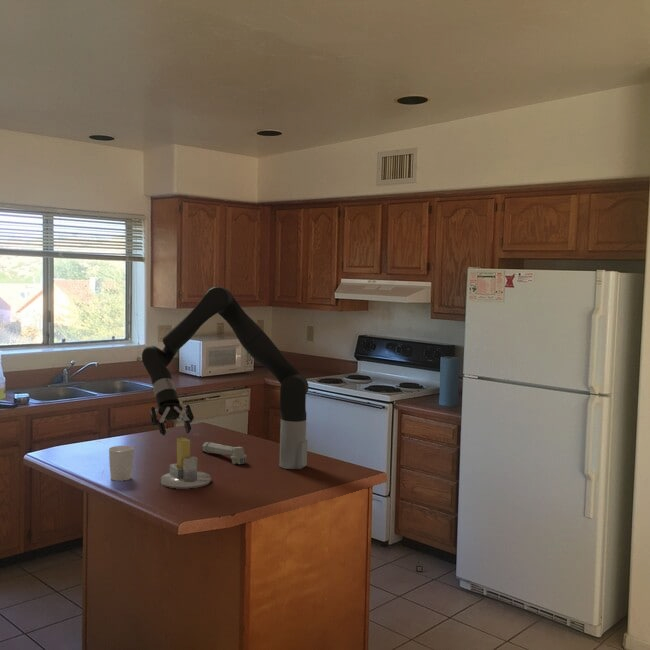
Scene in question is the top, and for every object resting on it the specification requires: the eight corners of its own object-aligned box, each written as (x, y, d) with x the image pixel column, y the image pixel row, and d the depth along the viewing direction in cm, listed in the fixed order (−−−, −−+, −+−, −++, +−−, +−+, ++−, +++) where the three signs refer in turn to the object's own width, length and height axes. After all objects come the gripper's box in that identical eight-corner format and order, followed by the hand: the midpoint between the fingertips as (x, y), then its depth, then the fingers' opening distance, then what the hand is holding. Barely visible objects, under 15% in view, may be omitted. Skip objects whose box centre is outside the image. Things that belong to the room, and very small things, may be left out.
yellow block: (176, 473, 232) (176, 438, 231) (184, 472, 233) (184, 437, 233) (181, 477, 228) (182, 441, 227) (189, 476, 229) (190, 440, 228)
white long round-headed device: (210, 440, 272) (248, 444, 253) (211, 457, 271) (249, 462, 253) (199, 442, 268) (236, 446, 250) (200, 459, 268) (237, 464, 249)
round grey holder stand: (154, 478, 231) (154, 452, 230) (199, 473, 239) (200, 448, 238) (170, 491, 217) (171, 464, 216) (218, 485, 225) (219, 458, 225)
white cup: (120, 483, 224) (120, 452, 224) (103, 478, 228) (103, 448, 228) (138, 477, 231) (139, 448, 230) (122, 473, 235) (122, 444, 235)
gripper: (148, 389, 238) (158, 428, 229) (188, 386, 246) (199, 425, 237) (143, 401, 243) (153, 441, 234) (182, 399, 250) (193, 437, 241)
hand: (176, 433), depth 235 cm, fingers open, 8 cm apart
